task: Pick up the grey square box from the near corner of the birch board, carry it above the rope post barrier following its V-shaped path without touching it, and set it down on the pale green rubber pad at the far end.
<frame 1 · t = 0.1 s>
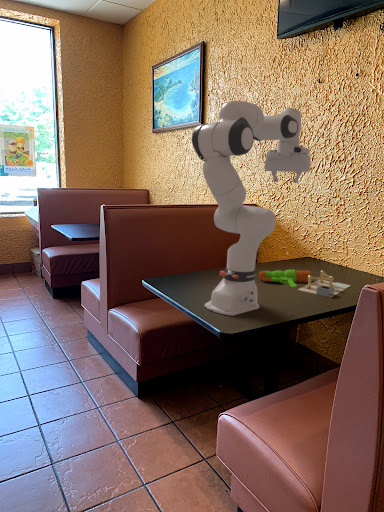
hand: (285, 182, 164), 48 cm above the table, tool pointing down, fingers open, 8 cm apart
toy: (284, 285, 180), on the table
grey square box: (325, 294, 163), point 1 cm above the table, touching board
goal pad: (340, 285, 177), resting on board
rope post barrier: (323, 280, 173), on the board, point 4 cm above the table
board: (324, 290, 173), on the table
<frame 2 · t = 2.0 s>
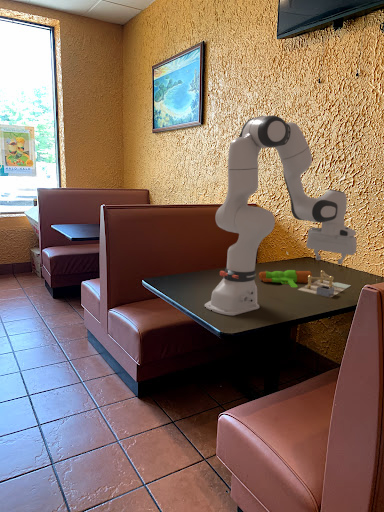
hand: (328, 261, 160), 16 cm above the table, tool pointing down, fingers open, 8 cm apart
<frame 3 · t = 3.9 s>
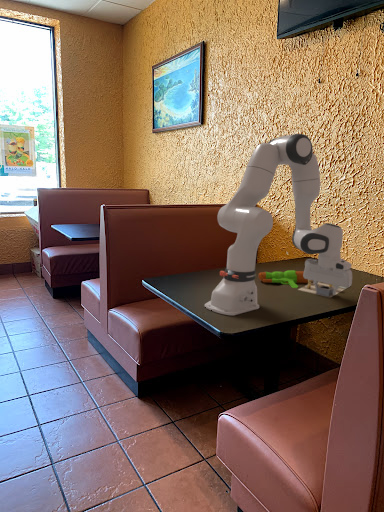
hand: (325, 292, 163), 2 cm above the table, tool pointing down, fingers closed on grey square box, 5 cm apart
grey square box: (324, 294, 163), point 1 cm above the table, touching board, gripper
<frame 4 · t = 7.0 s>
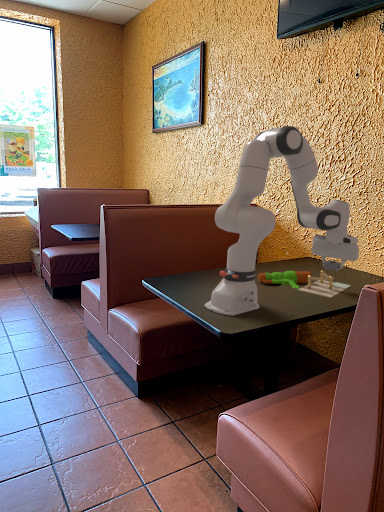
hand: (332, 267, 169), 11 cm above the table, tool pointing down, fingers closed on grey square box, 5 cm apart
toy: (285, 287, 178), on the table
grey square box: (332, 268, 169), point 11 cm above the table, touching gripper
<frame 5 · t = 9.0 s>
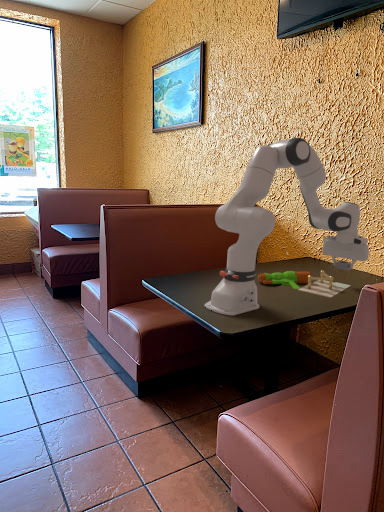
hand: (342, 267, 175), 10 cm above the table, tool pointing down, fingers closed on grey square box, 5 cm apart
grey square box: (342, 268, 175), point 10 cm above the table, touching gripper
when the fingers open (4 cm above the table, at t = 10.5 s): grey square box drops 2 cm, resting on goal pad.
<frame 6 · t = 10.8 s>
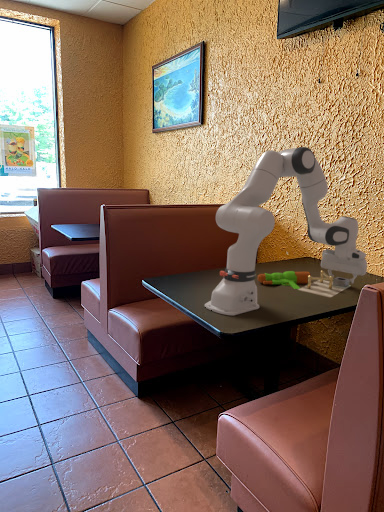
hand: (341, 280, 176), 4 cm above the table, tool pointing down, fingers open, 8 cm apart
grey square box: (340, 285, 177), point 1 cm above the table, touching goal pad
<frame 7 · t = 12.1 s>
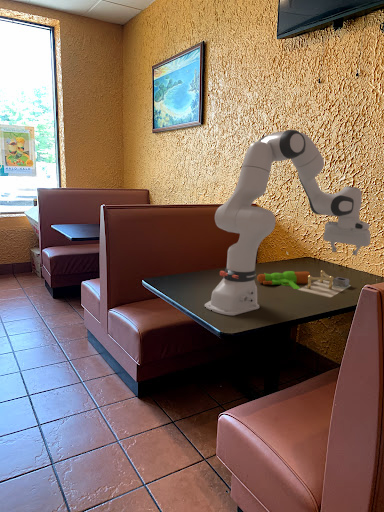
hand: (344, 253, 173), 17 cm above the table, tool pointing down, fingers open, 8 cm apart
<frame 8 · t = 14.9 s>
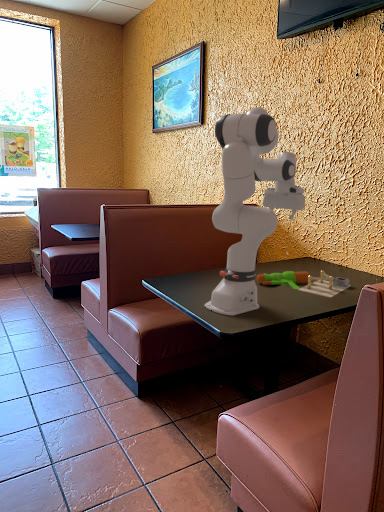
hand: (281, 218, 178), 31 cm above the table, tool pointing down, fingers open, 8 cm apart
at the end: grey square box inside the target area on the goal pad (0.0 cm from its centre), point 0.3 cm above the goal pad's base; grey square box touching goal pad; the gripper is holding nothing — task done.
